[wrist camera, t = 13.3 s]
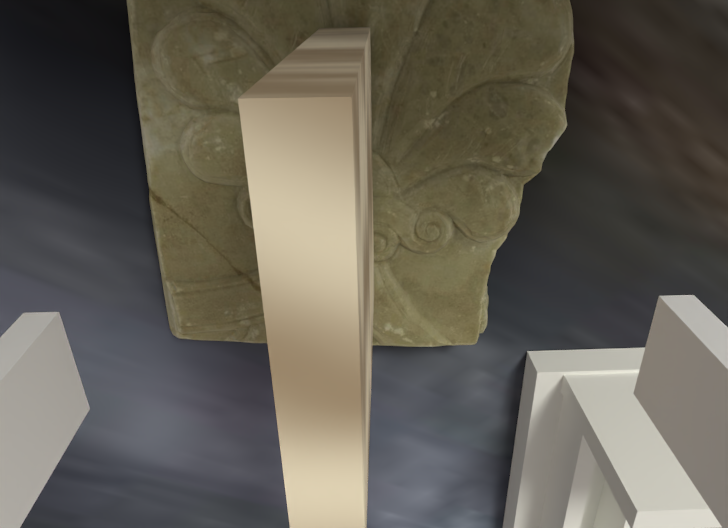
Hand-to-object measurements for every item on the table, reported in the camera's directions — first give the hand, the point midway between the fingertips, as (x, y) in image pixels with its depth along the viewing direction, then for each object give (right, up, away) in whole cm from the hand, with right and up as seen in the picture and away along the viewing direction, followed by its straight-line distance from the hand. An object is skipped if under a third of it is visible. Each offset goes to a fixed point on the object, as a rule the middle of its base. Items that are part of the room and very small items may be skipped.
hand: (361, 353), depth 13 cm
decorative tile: (-1, +8, +16) cm, 17 cm away
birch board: (-1, +6, +12) cm, 14 cm away
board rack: (+17, -10, +24) cm, 31 cm away
